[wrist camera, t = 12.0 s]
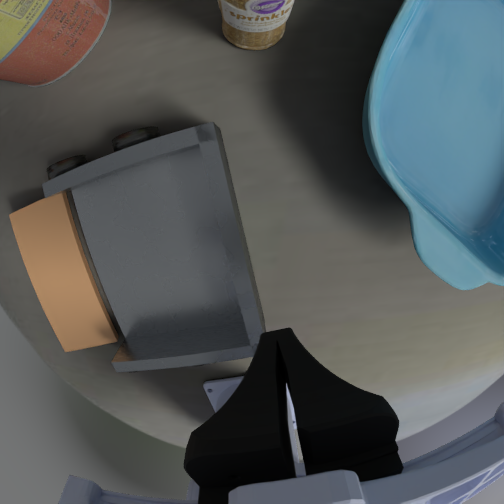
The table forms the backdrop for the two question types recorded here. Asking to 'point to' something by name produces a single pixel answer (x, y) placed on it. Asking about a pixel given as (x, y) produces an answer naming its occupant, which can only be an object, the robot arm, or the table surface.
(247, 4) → the sprinkles bottle
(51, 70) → the canned food
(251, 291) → the trailer
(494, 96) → the casserole dish
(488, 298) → the table surface
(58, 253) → the panel
